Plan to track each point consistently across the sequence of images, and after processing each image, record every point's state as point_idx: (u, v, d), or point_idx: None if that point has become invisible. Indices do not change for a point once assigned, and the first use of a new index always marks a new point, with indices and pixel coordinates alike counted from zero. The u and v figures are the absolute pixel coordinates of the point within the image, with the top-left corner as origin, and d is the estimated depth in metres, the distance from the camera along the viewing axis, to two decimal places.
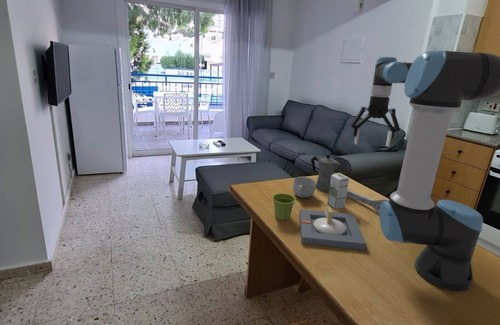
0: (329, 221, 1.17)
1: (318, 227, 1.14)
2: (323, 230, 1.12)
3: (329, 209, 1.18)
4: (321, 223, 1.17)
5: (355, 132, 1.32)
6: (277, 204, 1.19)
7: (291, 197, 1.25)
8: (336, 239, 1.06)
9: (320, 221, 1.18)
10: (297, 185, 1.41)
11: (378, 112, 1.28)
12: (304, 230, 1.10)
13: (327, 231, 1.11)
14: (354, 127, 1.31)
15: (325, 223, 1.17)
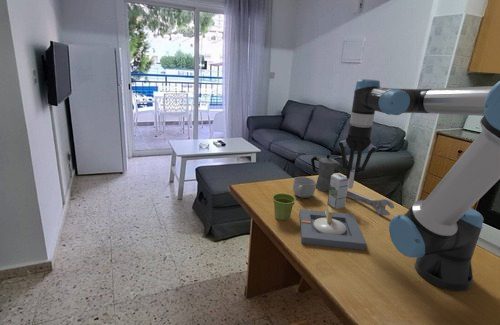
0: (329, 221, 1.17)
1: (318, 227, 1.14)
2: (323, 230, 1.12)
3: (329, 209, 1.18)
4: (321, 223, 1.17)
5: (348, 174, 1.11)
6: (277, 204, 1.19)
7: (291, 197, 1.25)
8: (336, 239, 1.06)
9: (320, 221, 1.18)
10: (297, 185, 1.41)
11: (357, 144, 1.07)
12: (304, 230, 1.10)
13: (327, 231, 1.11)
14: (347, 169, 1.11)
15: (325, 223, 1.17)
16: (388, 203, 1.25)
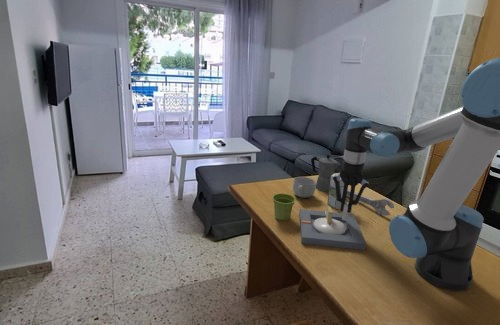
0: (329, 221, 1.17)
1: (318, 227, 1.14)
2: (323, 230, 1.12)
3: (329, 209, 1.18)
4: (321, 223, 1.17)
5: (342, 206, 1.16)
6: (277, 204, 1.19)
7: (291, 197, 1.25)
8: (336, 239, 1.06)
9: (320, 221, 1.18)
10: (297, 185, 1.41)
11: (350, 179, 1.11)
12: (304, 230, 1.10)
13: (327, 231, 1.11)
14: (341, 202, 1.15)
15: (325, 223, 1.17)
16: (388, 203, 1.25)
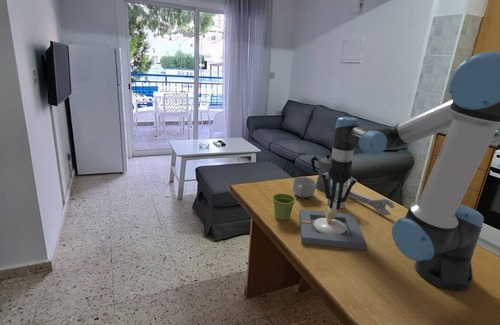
0: (329, 221, 1.17)
1: (318, 227, 1.13)
2: (323, 230, 1.12)
3: (329, 209, 1.18)
4: (321, 223, 1.16)
5: (331, 204, 1.17)
6: (277, 204, 1.19)
7: (291, 197, 1.25)
8: (336, 239, 1.06)
9: (320, 221, 1.18)
10: (297, 185, 1.41)
11: (339, 177, 1.13)
12: (304, 230, 1.10)
13: (328, 231, 1.11)
14: (330, 200, 1.17)
15: (325, 223, 1.17)
16: (388, 203, 1.26)
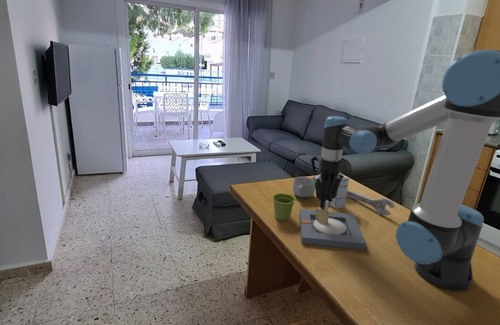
0: (326, 221, 1.16)
1: (327, 231, 1.11)
2: (334, 232, 1.11)
3: (322, 210, 1.17)
4: (322, 226, 1.14)
5: (323, 204, 1.17)
6: (277, 204, 1.19)
7: (291, 197, 1.25)
8: (336, 239, 1.06)
9: (319, 225, 1.15)
10: (297, 185, 1.41)
11: (330, 176, 1.13)
12: (304, 230, 1.10)
13: (338, 232, 1.11)
14: (322, 201, 1.16)
15: (324, 225, 1.15)
16: (388, 203, 1.26)
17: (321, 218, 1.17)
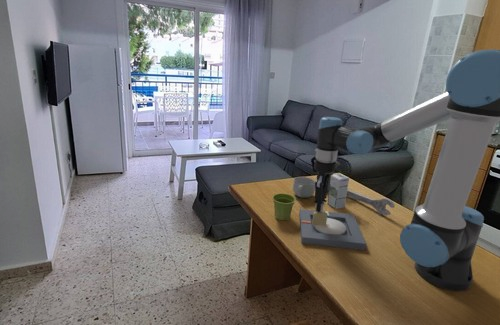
0: (325, 222, 1.15)
1: (338, 232, 1.11)
2: (342, 230, 1.12)
3: (321, 213, 1.14)
4: (328, 229, 1.13)
5: (320, 207, 1.14)
6: (277, 204, 1.19)
7: (291, 197, 1.25)
8: (336, 239, 1.06)
9: (324, 229, 1.12)
10: (297, 185, 1.41)
11: None
12: (304, 230, 1.10)
13: (343, 228, 1.14)
14: (320, 204, 1.13)
15: (327, 226, 1.14)
16: (388, 203, 1.26)
17: (320, 221, 1.15)
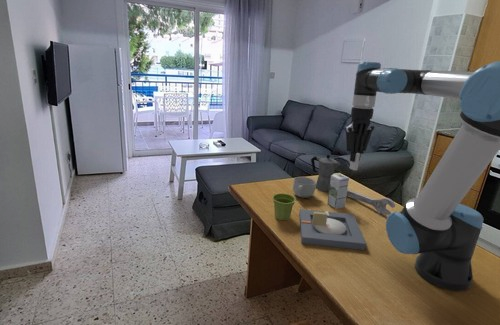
0: (325, 222, 1.15)
1: (338, 232, 1.11)
2: (342, 230, 1.12)
3: (321, 213, 1.14)
4: (328, 229, 1.13)
5: (354, 157, 1.13)
6: (277, 204, 1.19)
7: (291, 197, 1.25)
8: (336, 239, 1.06)
9: (324, 229, 1.12)
10: (297, 185, 1.41)
11: None
12: (304, 230, 1.10)
13: (343, 228, 1.14)
14: (353, 153, 1.12)
15: (327, 226, 1.14)
16: (389, 203, 1.26)
17: (320, 221, 1.15)
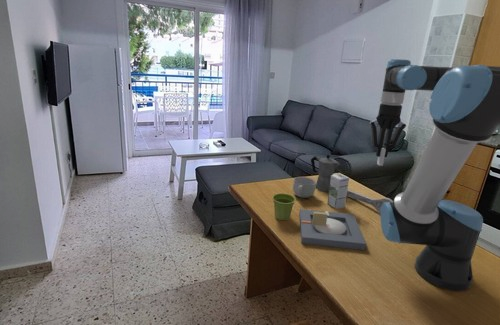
0: (325, 222, 1.15)
1: (338, 232, 1.11)
2: (342, 230, 1.12)
3: (321, 213, 1.14)
4: (328, 229, 1.13)
5: (378, 152, 1.16)
6: (277, 204, 1.19)
7: (291, 197, 1.25)
8: (336, 239, 1.06)
9: (324, 229, 1.12)
10: (297, 185, 1.41)
11: (389, 122, 1.12)
12: (304, 230, 1.10)
13: (343, 228, 1.14)
14: (377, 148, 1.16)
15: (327, 226, 1.14)
16: None
17: (320, 221, 1.15)
